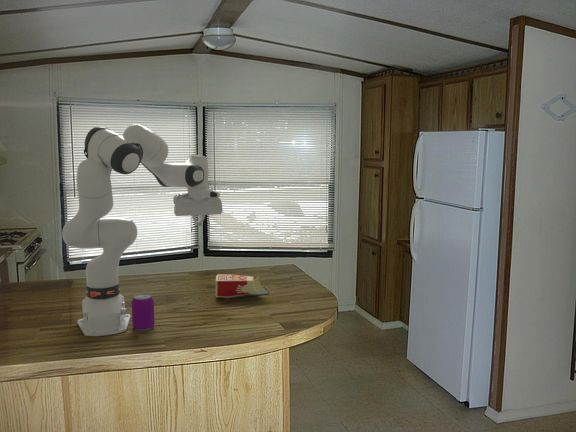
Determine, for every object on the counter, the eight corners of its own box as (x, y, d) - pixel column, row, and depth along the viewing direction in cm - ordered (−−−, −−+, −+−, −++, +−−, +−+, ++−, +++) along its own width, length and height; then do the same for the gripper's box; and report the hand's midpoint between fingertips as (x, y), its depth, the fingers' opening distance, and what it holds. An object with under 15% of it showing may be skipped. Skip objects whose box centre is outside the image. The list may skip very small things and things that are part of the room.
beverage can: (146, 322, 195) (145, 291, 193) (158, 327, 190) (158, 295, 188) (128, 328, 189) (127, 296, 187) (141, 333, 185) (139, 300, 183)
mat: (269, 294, 231) (269, 293, 231) (224, 298, 224) (224, 297, 224) (258, 284, 246) (258, 283, 246) (216, 288, 239) (216, 287, 239)
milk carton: (218, 291, 232) (263, 292, 233) (215, 298, 223) (262, 298, 223) (217, 271, 231) (263, 272, 231) (215, 277, 222) (262, 278, 222)
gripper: (174, 194, 215) (175, 228, 217) (223, 193, 222) (223, 225, 224) (172, 193, 220) (172, 225, 222) (219, 191, 228) (219, 223, 230)
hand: (198, 225), depth 223 cm, fingers closed
